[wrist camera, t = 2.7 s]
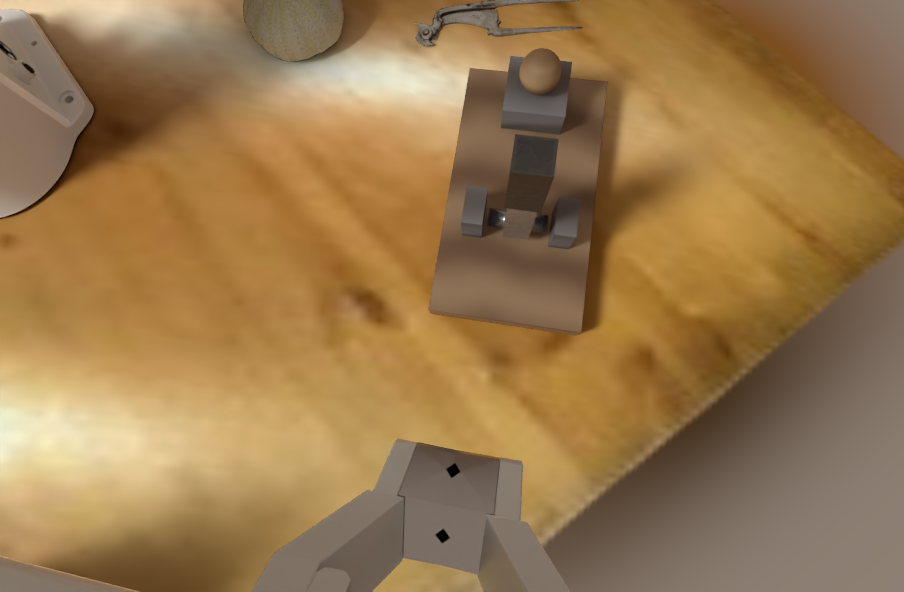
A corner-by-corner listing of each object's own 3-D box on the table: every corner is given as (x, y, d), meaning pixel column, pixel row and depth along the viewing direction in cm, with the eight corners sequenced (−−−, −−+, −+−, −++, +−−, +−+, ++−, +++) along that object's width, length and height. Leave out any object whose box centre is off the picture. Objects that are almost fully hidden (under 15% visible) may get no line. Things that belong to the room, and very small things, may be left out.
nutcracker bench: (575, 335, 36) (601, 322, 28) (431, 313, 37) (419, 295, 29) (600, 96, 40) (629, 29, 32) (470, 83, 41) (468, 15, 33)
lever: (542, 246, 35) (574, 179, 24) (485, 239, 35) (489, 169, 24) (546, 219, 35) (579, 140, 24) (489, 211, 36) (495, 131, 24)
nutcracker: (582, -6, 42) (586, 36, 41) (580, 1, 43) (584, 44, 41) (414, 0, 42) (413, 43, 41) (415, 8, 43) (414, 50, 42)
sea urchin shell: (269, -43, 43) (294, -87, 37) (336, 22, 48) (369, -7, 41) (221, 31, 41) (239, -1, 35) (295, 91, 46) (322, 72, 40)
